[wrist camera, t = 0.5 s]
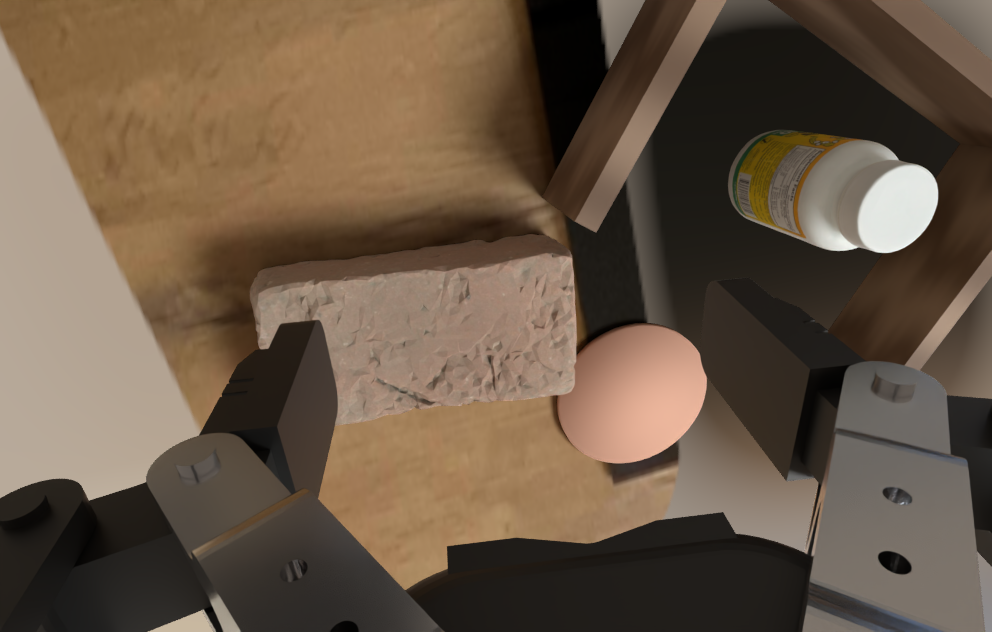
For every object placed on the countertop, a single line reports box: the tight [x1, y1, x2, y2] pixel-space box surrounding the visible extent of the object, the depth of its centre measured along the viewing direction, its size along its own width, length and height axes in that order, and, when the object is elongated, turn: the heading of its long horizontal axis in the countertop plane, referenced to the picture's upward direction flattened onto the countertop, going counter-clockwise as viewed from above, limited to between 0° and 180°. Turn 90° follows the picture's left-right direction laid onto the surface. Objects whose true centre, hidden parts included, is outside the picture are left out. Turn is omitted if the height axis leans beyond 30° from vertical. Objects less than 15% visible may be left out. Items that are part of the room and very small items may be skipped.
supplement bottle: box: [728, 130, 938, 253], centre depth 31 cm, size 5×5×10 cm
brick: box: [250, 234, 576, 425], centre depth 32 cm, size 17×8×5 cm, turn 94°
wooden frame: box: [542, 0, 992, 370], centre depth 32 cm, size 16×23×6 cm, turn 63°
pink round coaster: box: [557, 323, 707, 463], centre depth 39 cm, size 10×10×1 cm
